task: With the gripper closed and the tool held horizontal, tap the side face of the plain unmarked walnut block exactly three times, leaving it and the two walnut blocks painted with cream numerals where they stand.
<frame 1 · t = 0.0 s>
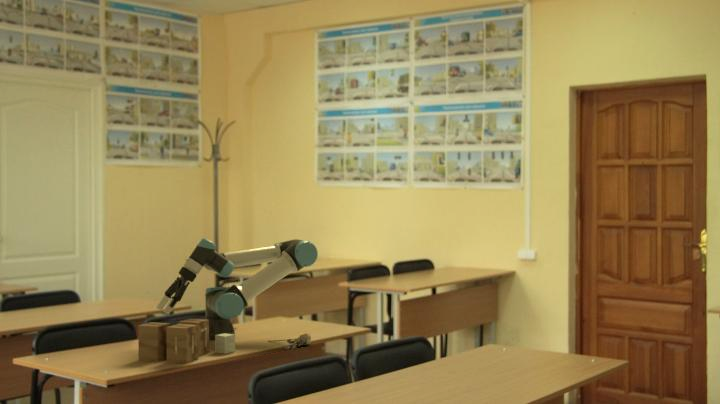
hand: (162, 311, 397), 15 cm above the table, tool tilted 35°, fingers open, 13 cm apart
toy 2: (224, 328, 448), on the table
block seven: (194, 354, 379), on the table
plain block: (154, 358, 369), on the table
block one: (182, 360, 364), on the table
toy: (285, 347, 398), on the table
product box: (225, 352, 383), on the table
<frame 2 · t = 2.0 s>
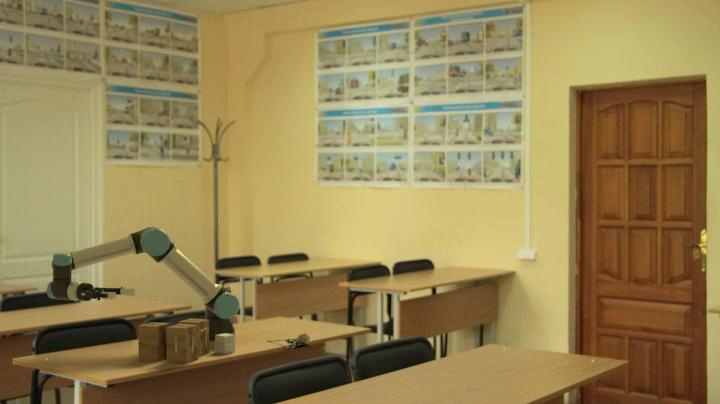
hand: (125, 294, 373), 26 cm above the table, tool horizontal, fingers open, 12 cm apart
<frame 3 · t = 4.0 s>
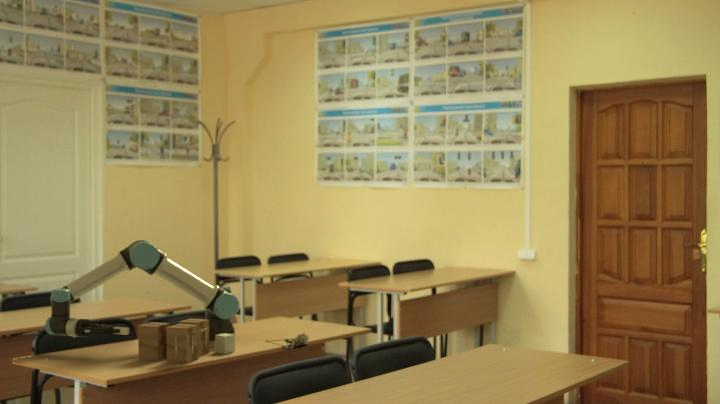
hand: (127, 331, 373), 10 cm above the table, tool horizontal, fingers closed
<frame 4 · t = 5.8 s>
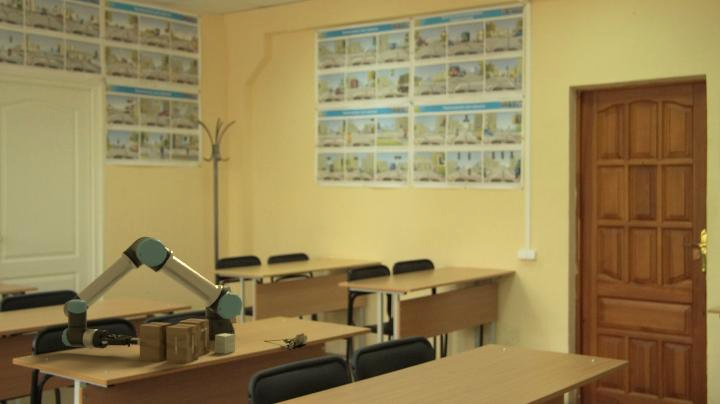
hand: (145, 342, 370), 6 cm above the table, tool horizontal, fingers closed
plain block: (155, 358, 369), on the table, touching gripper
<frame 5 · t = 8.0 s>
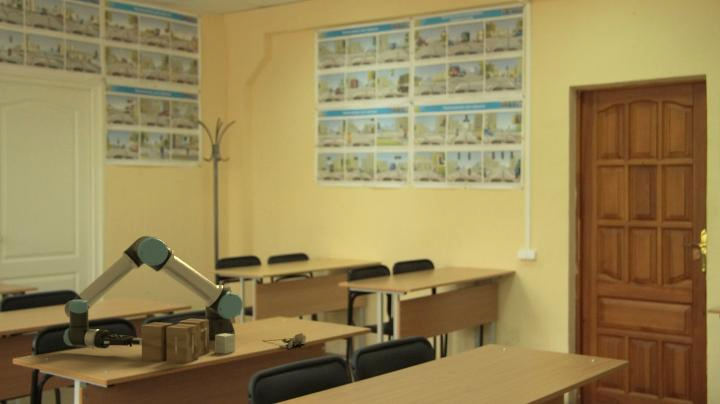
hand: (147, 342, 370), 6 cm above the table, tool horizontal, fingers closed
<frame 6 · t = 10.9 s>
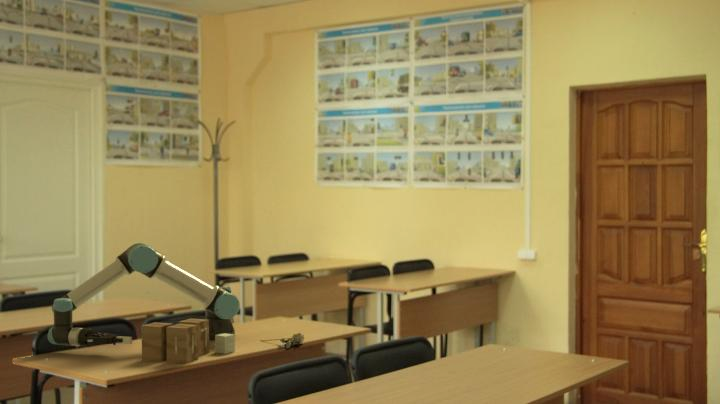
hand: (130, 340, 373), 7 cm above the table, tool horizontal, fingers closed
plain block: (157, 359, 368), on the table
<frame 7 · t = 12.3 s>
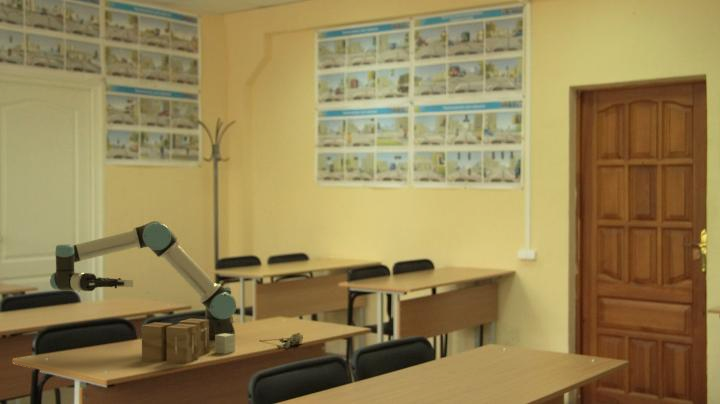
hand: (131, 283, 378), 29 cm above the table, tool horizontal, fingers closed
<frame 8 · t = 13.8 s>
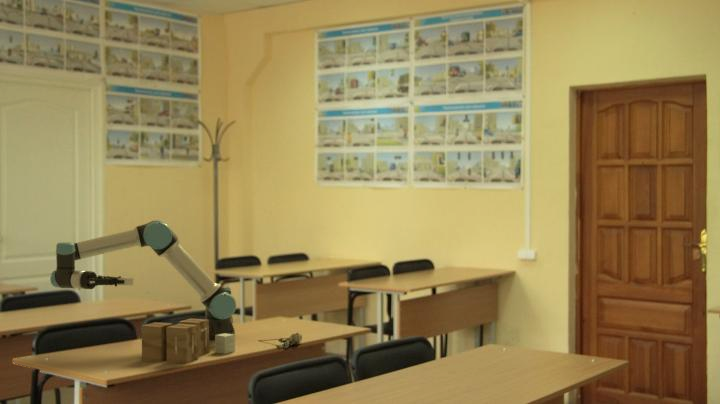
hand: (132, 281, 378), 30 cm above the table, tool horizontal, fingers closed
at the end: plain block moved 1.5 cm from its start; block one moved 0.1 cm from its start; block seven moved 0.1 cm from its start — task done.
